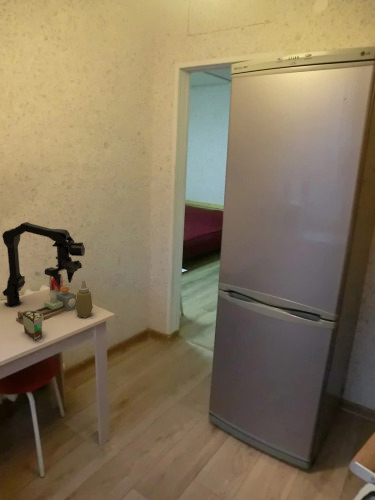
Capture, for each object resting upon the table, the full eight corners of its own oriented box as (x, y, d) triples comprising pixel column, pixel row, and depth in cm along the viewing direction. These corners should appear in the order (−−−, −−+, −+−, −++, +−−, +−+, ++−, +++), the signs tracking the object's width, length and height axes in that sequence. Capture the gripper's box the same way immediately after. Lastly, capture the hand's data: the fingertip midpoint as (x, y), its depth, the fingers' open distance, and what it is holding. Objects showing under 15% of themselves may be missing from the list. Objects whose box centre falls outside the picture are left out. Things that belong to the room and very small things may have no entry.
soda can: (59, 297, 192) (58, 277, 188) (47, 296, 193) (46, 275, 190) (65, 293, 198) (64, 273, 195) (54, 291, 200) (53, 271, 196)
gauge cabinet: (54, 306, 181) (53, 293, 179) (64, 302, 186) (63, 290, 184) (67, 311, 175) (67, 298, 174) (77, 307, 180) (76, 295, 179)
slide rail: (16, 321, 163) (15, 312, 162) (55, 306, 181) (55, 298, 180) (27, 326, 158) (27, 317, 157) (67, 310, 176) (66, 302, 175)
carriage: (44, 306, 174) (43, 291, 171) (54, 302, 178) (53, 287, 176) (53, 309, 170) (52, 294, 168) (63, 305, 175) (62, 291, 173)
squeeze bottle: (75, 312, 175) (74, 278, 170) (92, 310, 178) (91, 277, 173) (76, 319, 168) (75, 284, 163) (93, 317, 170) (92, 283, 166)
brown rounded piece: (58, 296, 178) (58, 288, 177) (65, 293, 182) (65, 286, 181) (64, 298, 176) (64, 290, 175) (71, 295, 180) (71, 288, 179)
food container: (50, 337, 150) (48, 316, 148) (36, 342, 146) (34, 320, 143) (36, 327, 158) (35, 307, 155) (23, 332, 153) (21, 311, 151)
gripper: (57, 262, 162) (59, 293, 166) (88, 254, 177) (89, 282, 181) (42, 257, 167) (44, 287, 171) (74, 250, 183) (75, 278, 187)
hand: (64, 284), depth 177 cm, fingers open, 6 cm apart
